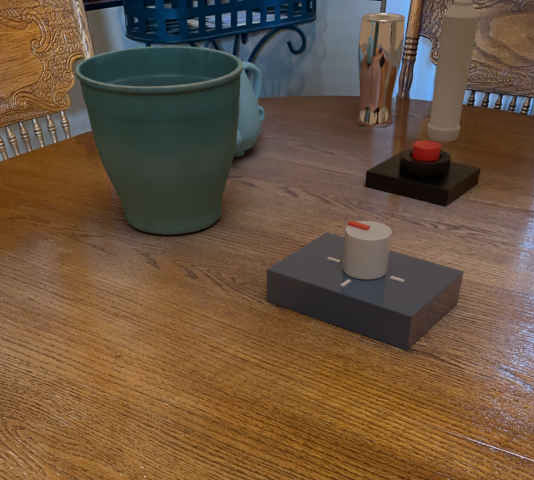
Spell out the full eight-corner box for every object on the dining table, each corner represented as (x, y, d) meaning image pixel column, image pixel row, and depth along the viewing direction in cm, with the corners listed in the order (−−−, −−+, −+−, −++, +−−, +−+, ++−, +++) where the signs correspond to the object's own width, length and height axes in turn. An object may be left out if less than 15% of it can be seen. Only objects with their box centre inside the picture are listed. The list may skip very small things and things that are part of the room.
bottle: (418, 137, 111) (445, -60, 94) (438, 130, 114) (468, -63, 97) (445, 145, 108) (477, -58, 91) (465, 138, 111) (500, -60, 94)
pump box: (477, 184, 96) (483, 154, 93) (445, 207, 90) (451, 175, 87) (399, 167, 101) (403, 137, 98) (364, 187, 95) (367, 156, 92)
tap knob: (395, 267, 69) (401, 225, 66) (372, 284, 66) (377, 240, 64) (357, 255, 71) (361, 214, 68) (333, 271, 68) (336, 228, 66)
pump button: (443, 157, 93) (445, 143, 92) (431, 164, 91) (433, 150, 90) (419, 152, 95) (421, 138, 94) (406, 159, 93) (408, 145, 91)
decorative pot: (183, 131, 114) (175, 34, 105) (275, 141, 110) (275, 40, 101) (134, 162, 103) (120, 57, 94) (235, 175, 98) (230, 65, 89)
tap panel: (457, 303, 71) (464, 269, 68) (406, 350, 64) (412, 315, 62) (324, 262, 78) (326, 230, 76) (266, 301, 71) (266, 267, 69)
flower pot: (249, 246, 81) (246, 82, 70) (93, 251, 80) (63, 86, 69) (243, 189, 94) (239, 44, 83) (108, 193, 94) (86, 47, 82)
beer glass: (361, 114, 121) (369, 11, 111) (400, 119, 118) (412, 14, 108) (346, 125, 116) (354, 18, 106) (386, 130, 114) (398, 22, 104)
